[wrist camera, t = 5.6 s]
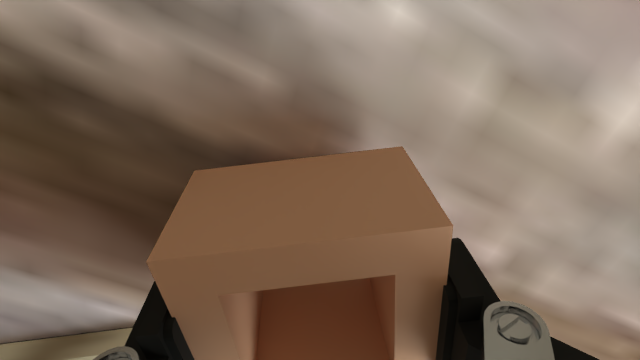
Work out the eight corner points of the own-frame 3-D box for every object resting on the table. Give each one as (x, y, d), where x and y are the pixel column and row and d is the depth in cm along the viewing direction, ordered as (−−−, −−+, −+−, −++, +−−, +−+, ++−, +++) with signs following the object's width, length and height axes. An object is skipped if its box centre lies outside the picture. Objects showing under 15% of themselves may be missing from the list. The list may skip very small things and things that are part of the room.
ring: (402, 146, 11) (453, 225, 7) (399, 293, 14) (433, 396, 10) (194, 170, 11) (146, 261, 7) (238, 312, 14) (220, 422, 10)
